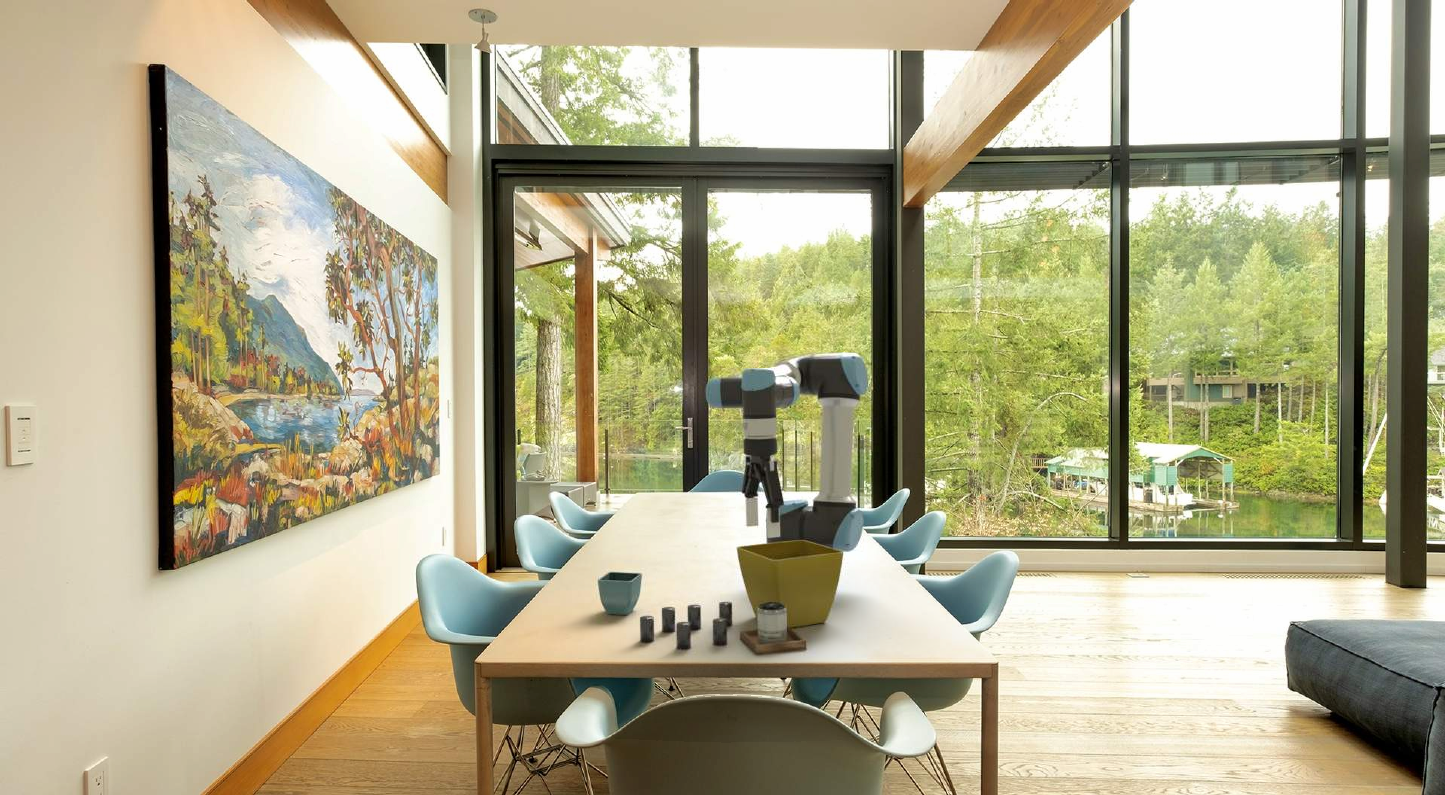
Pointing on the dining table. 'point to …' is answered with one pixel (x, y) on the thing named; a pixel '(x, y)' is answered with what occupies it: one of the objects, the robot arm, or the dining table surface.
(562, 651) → the dining table surface
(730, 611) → the spacers
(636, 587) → the flower pot
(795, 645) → the tray
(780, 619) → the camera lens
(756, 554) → the flower pot
